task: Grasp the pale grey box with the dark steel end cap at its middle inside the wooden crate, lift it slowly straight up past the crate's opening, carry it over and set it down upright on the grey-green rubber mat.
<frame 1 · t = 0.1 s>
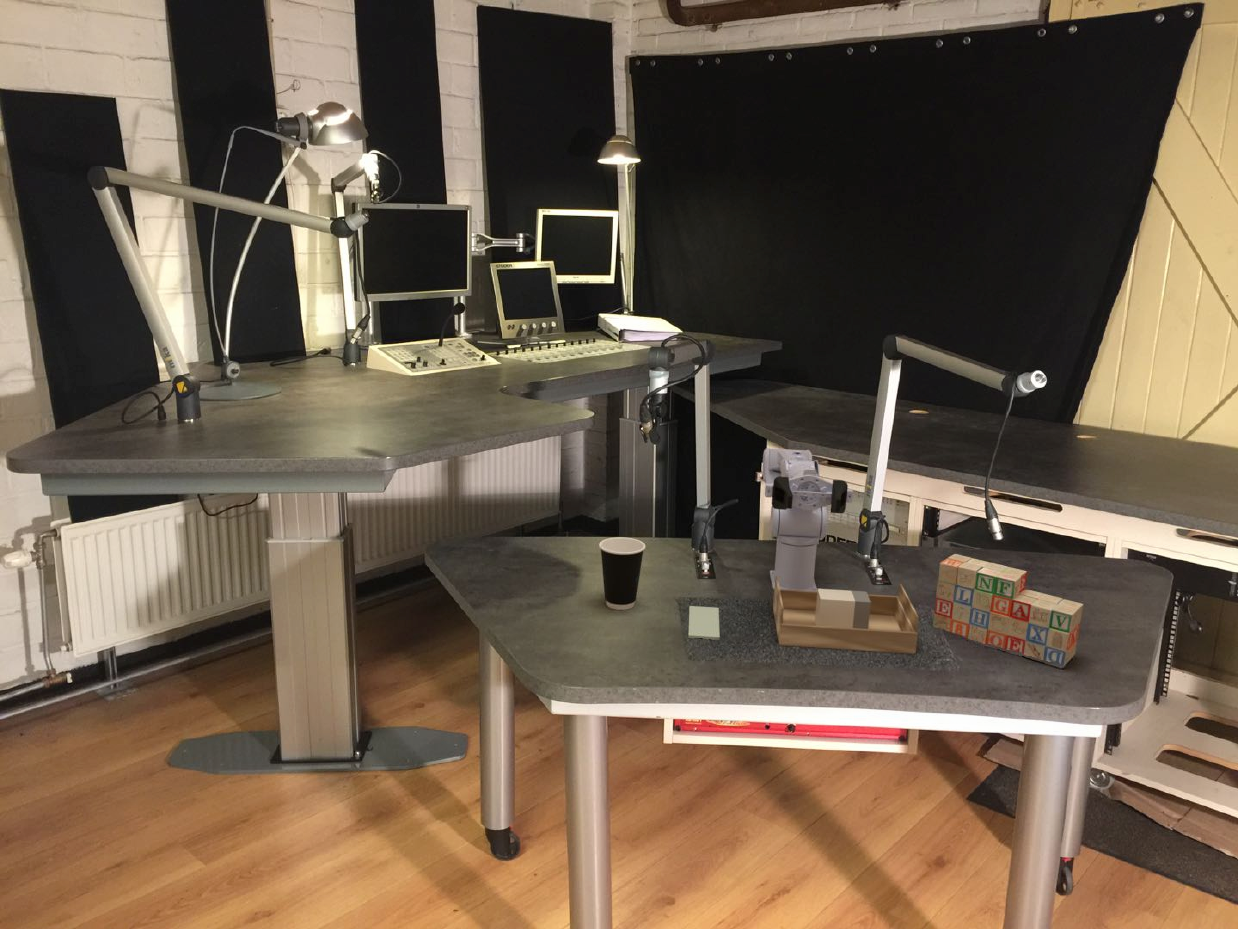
hand: (814, 504, 160), 22 cm above the table, tool horizontal, fingers open, 7 cm apart
dixie cup: (620, 605, 173), on the table
wooden crate: (840, 632, 164), on the table
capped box: (840, 629, 164), point 1 cm above the table, touching wooden crate
stack of blocks: (1001, 645, 163), on the table
mat: (724, 625, 166), on the table
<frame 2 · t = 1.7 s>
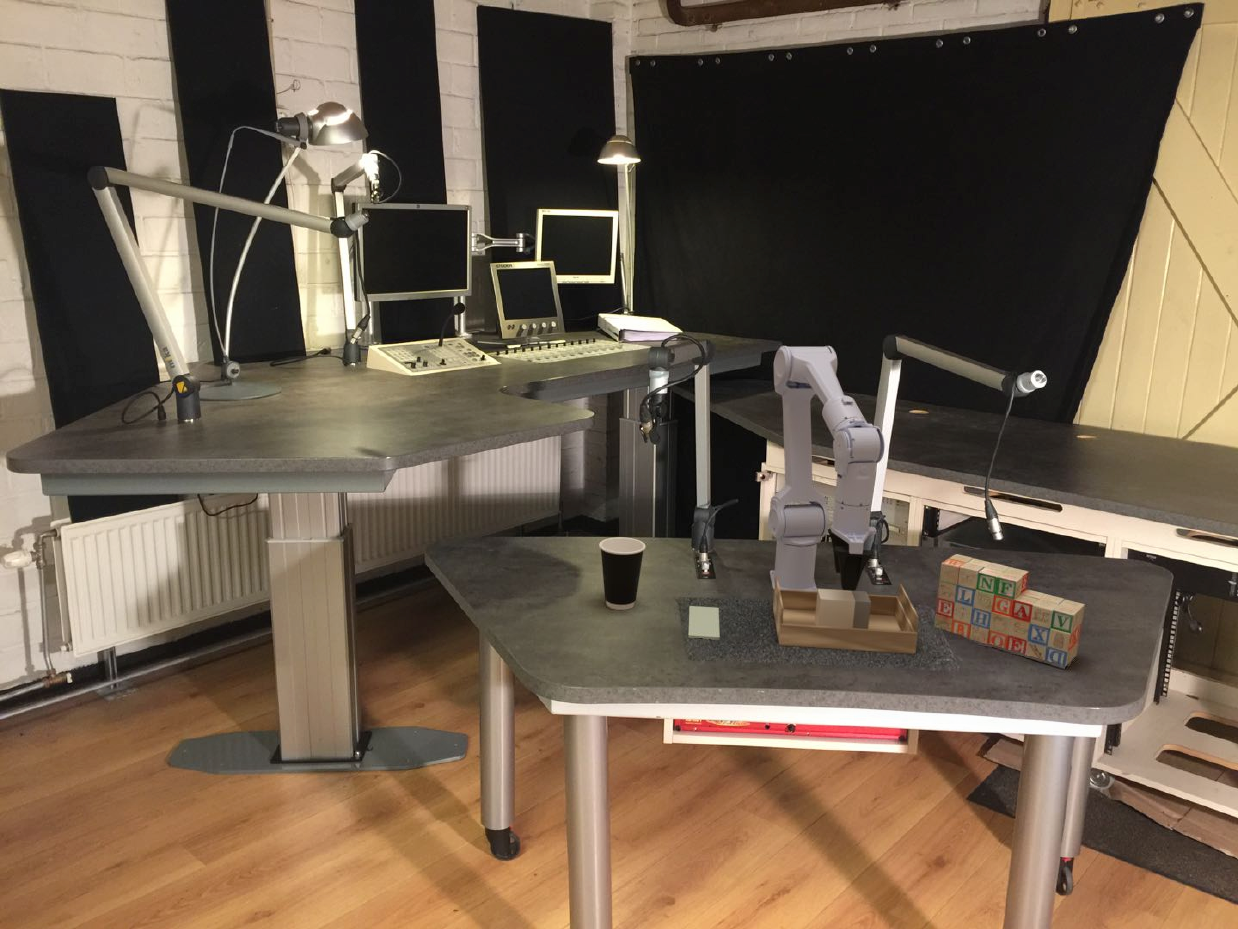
hand: (845, 581, 162), 9 cm above the table, tool pointing down, fingers open, 7 cm apart
nothing on the table moved.
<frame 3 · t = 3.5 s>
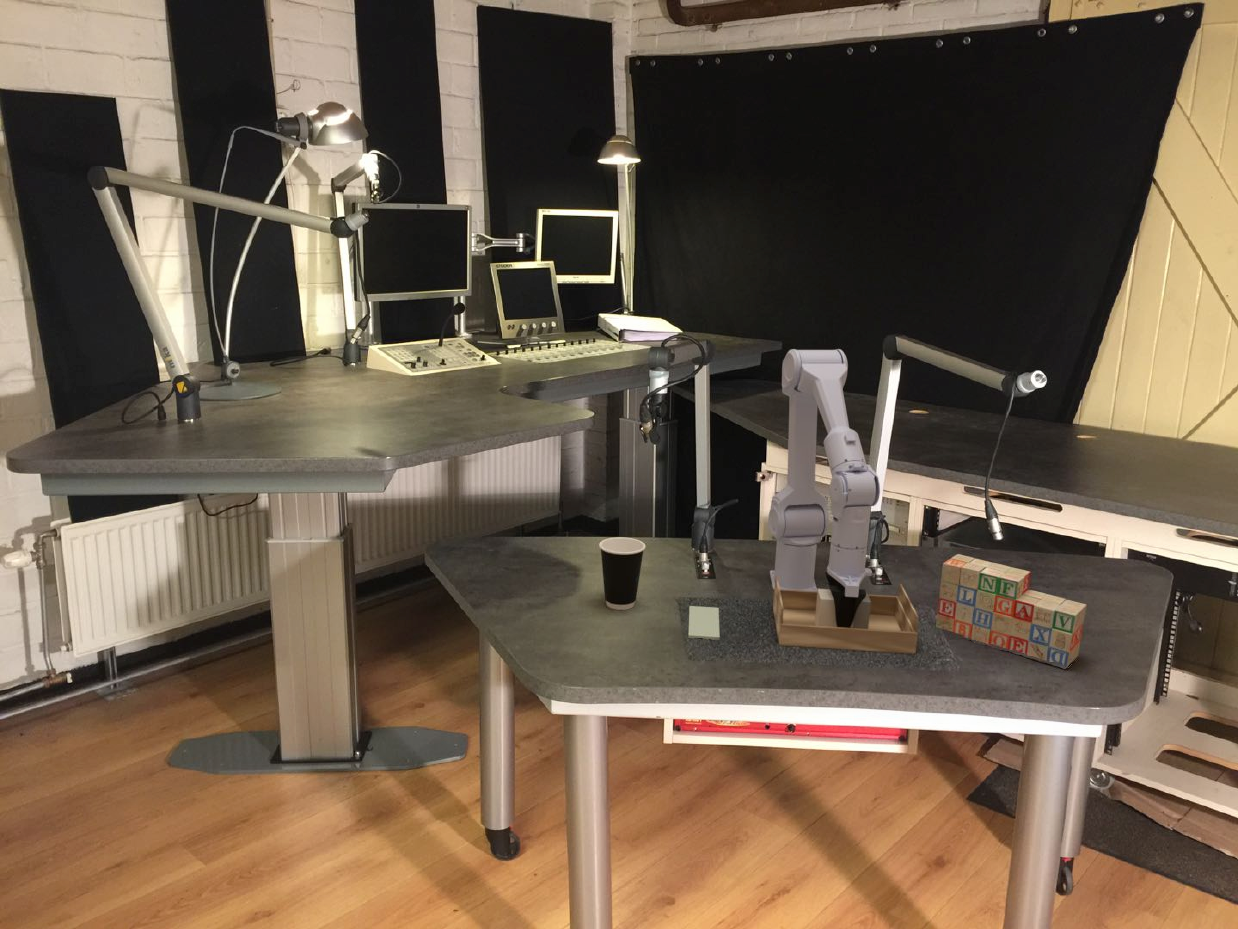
hand: (841, 621, 164), 2 cm above the table, tool pointing down, fingers closed on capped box, 4 cm apart
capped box: (840, 629, 164), point 1 cm above the table, touching wooden crate, gripper
everything else where it was.
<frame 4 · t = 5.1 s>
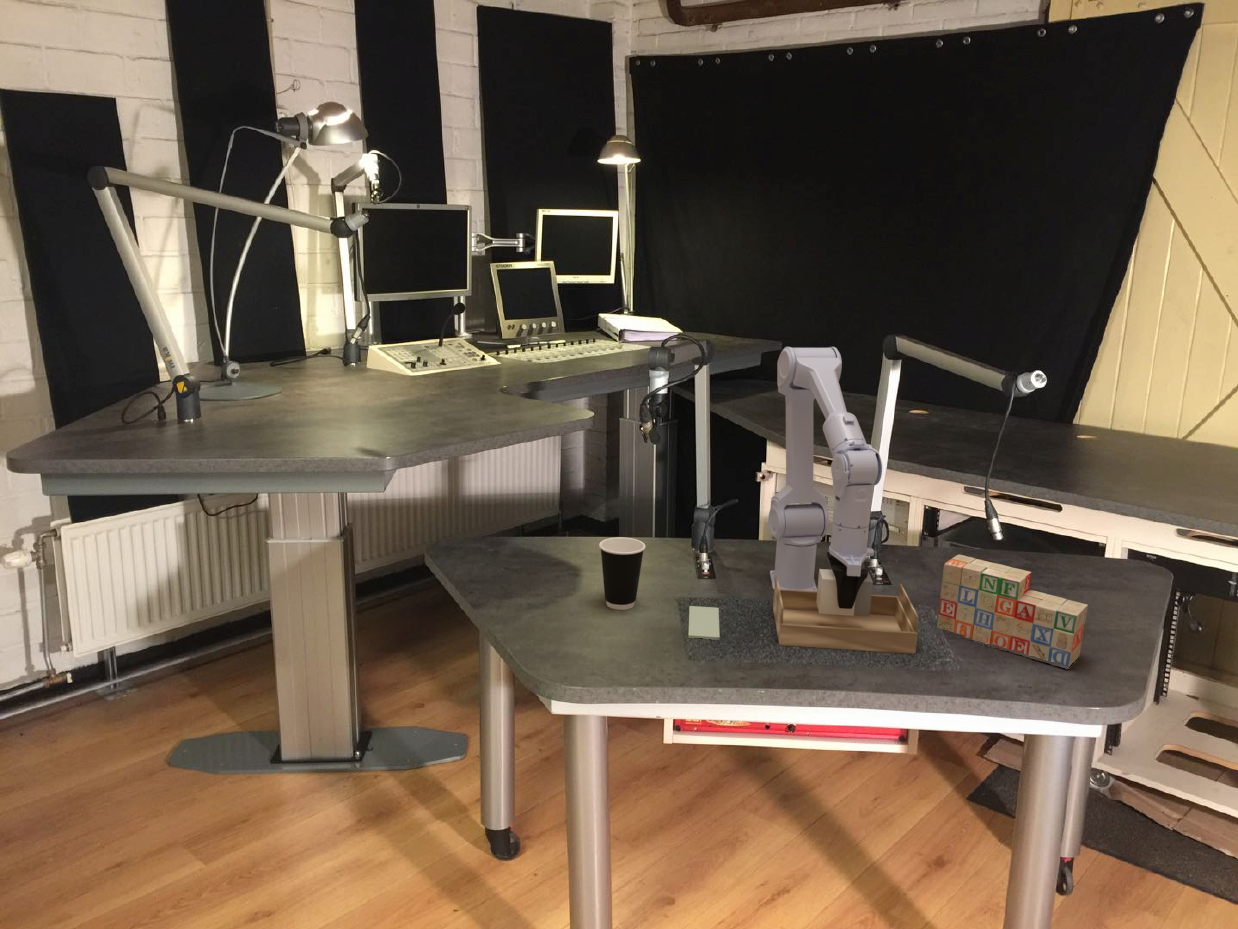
hand: (843, 601, 163), 5 cm above the table, tool pointing down, fingers closed on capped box, 4 cm apart
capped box: (842, 609, 163), point 4 cm above the table, touching gripper
everything else where it was.
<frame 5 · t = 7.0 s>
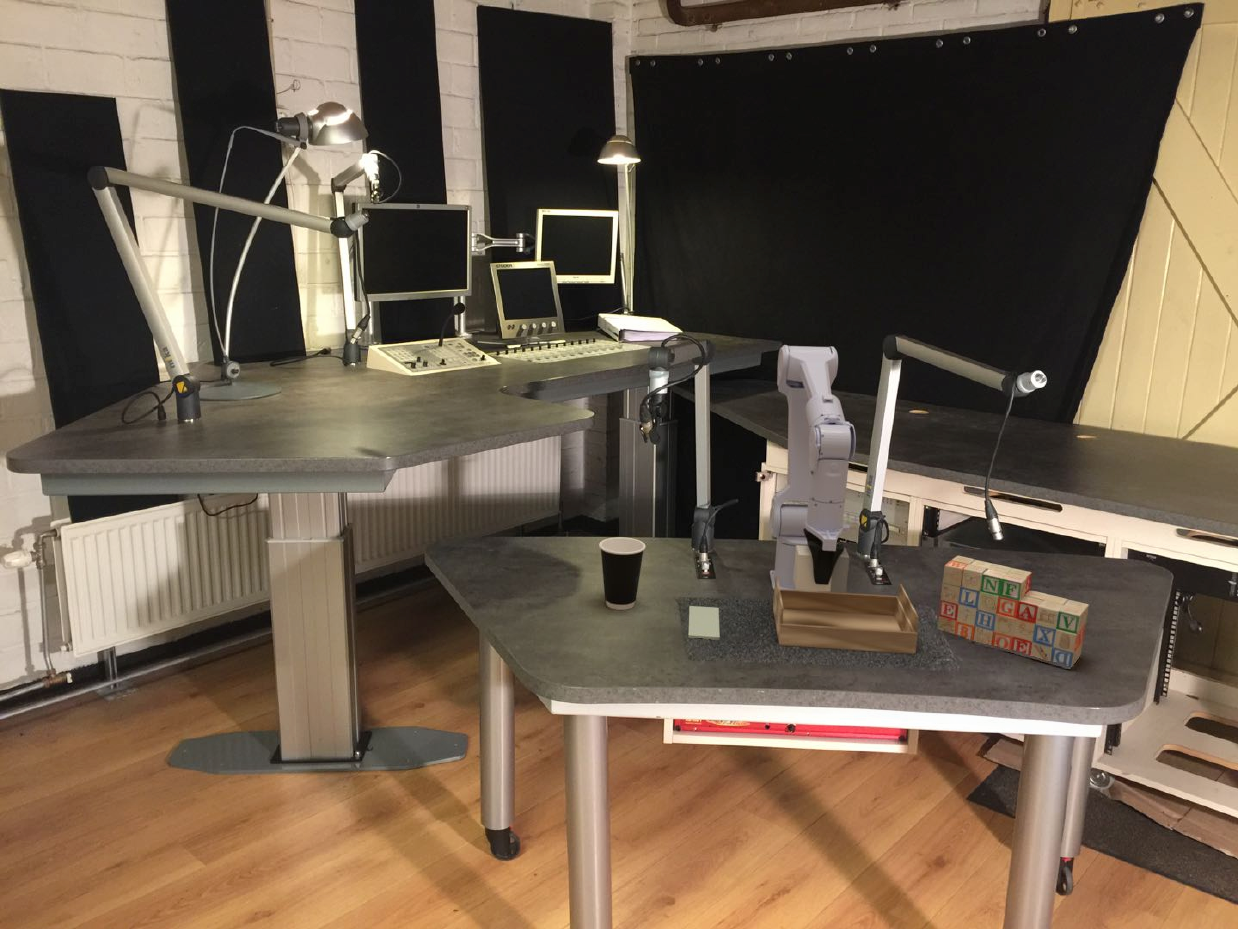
hand: (819, 577, 162), 9 cm above the table, tool pointing down, fingers closed on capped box, 4 cm apart
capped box: (819, 585, 163), point 8 cm above the table, touching gripper
everything else where it was.
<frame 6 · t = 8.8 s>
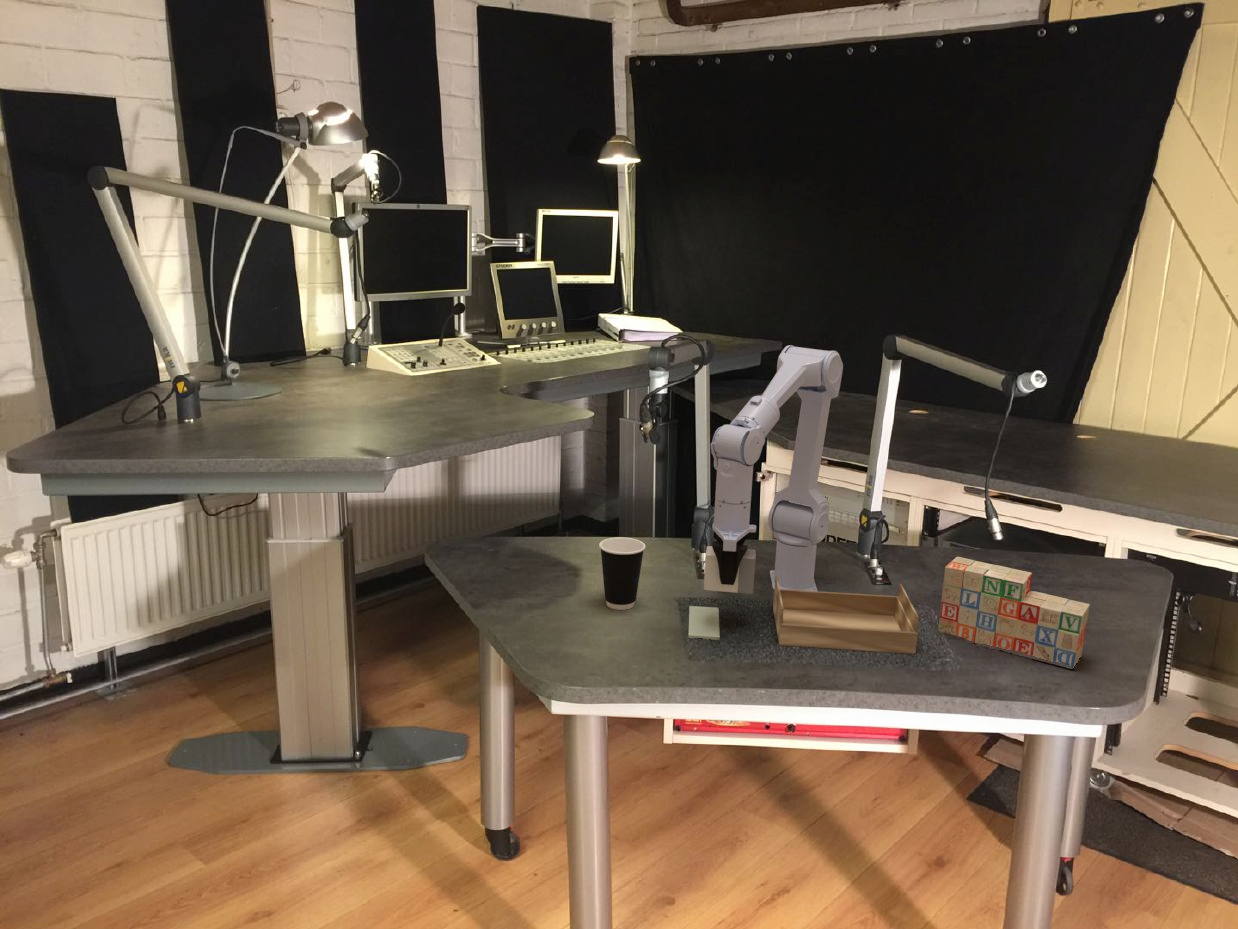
hand: (727, 578, 164), 8 cm above the table, tool pointing down, fingers closed on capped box, 4 cm apart
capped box: (728, 586, 164), point 7 cm above the table, touching gripper
when the fingers open (3 cm above the table, at t = 10.5 s): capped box stays where it is, resting on mat.
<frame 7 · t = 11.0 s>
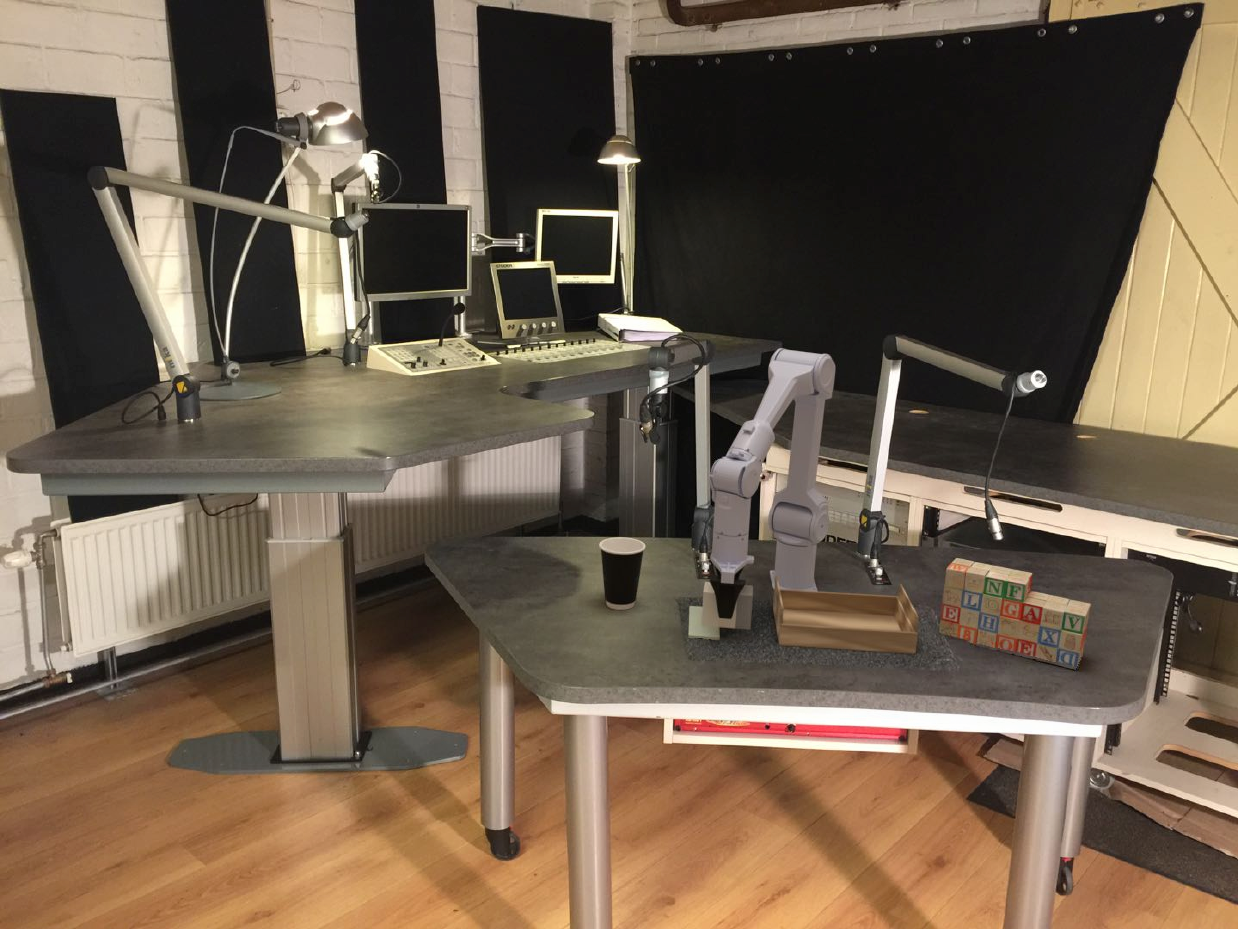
hand: (725, 608, 165), 3 cm above the table, tool pointing down, fingers open, 7 cm apart
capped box: (726, 622, 166), resting on mat
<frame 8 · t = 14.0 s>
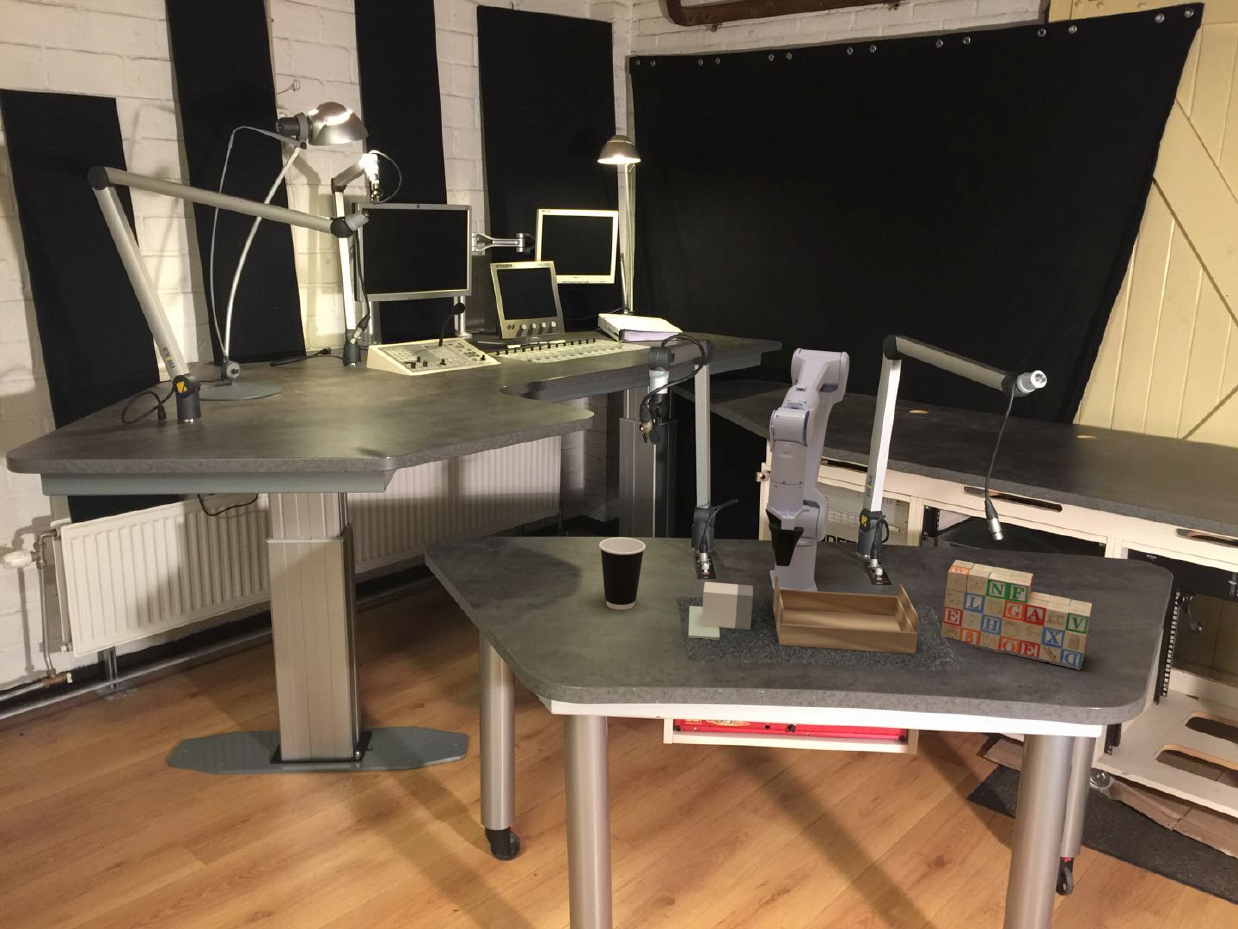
hand: (780, 557, 168), 10 cm above the table, tool pointing down, fingers open, 7 cm apart
at the end: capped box inside the target area on the mat (0.2 cm from its centre), point 0.5 cm above the mat's base; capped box tilted 0°; the gripper is holding nothing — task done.
